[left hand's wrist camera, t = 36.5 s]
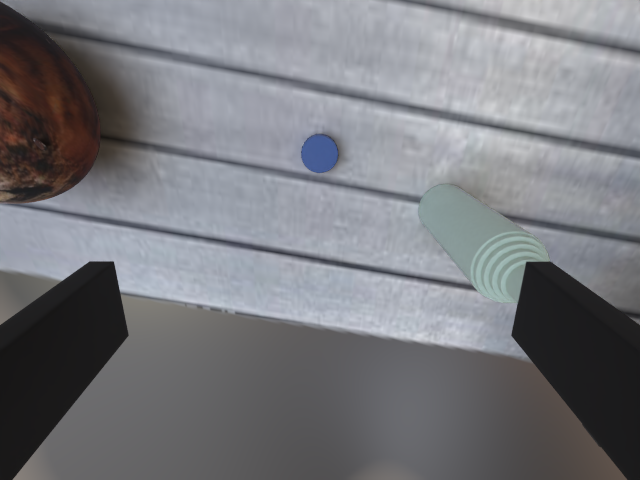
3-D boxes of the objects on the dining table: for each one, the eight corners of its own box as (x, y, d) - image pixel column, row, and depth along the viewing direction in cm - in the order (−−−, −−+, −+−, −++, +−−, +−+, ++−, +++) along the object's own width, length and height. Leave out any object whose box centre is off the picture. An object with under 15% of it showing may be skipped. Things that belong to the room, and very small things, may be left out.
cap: (336, 132, 46) (337, 134, 44) (338, 168, 48) (339, 172, 46) (300, 134, 46) (299, 136, 44) (303, 170, 48) (302, 174, 46)
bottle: (460, 235, 51) (573, 345, 28) (413, 228, 51) (488, 334, 28) (474, 187, 49) (608, 265, 26) (424, 180, 48) (516, 252, 26)
